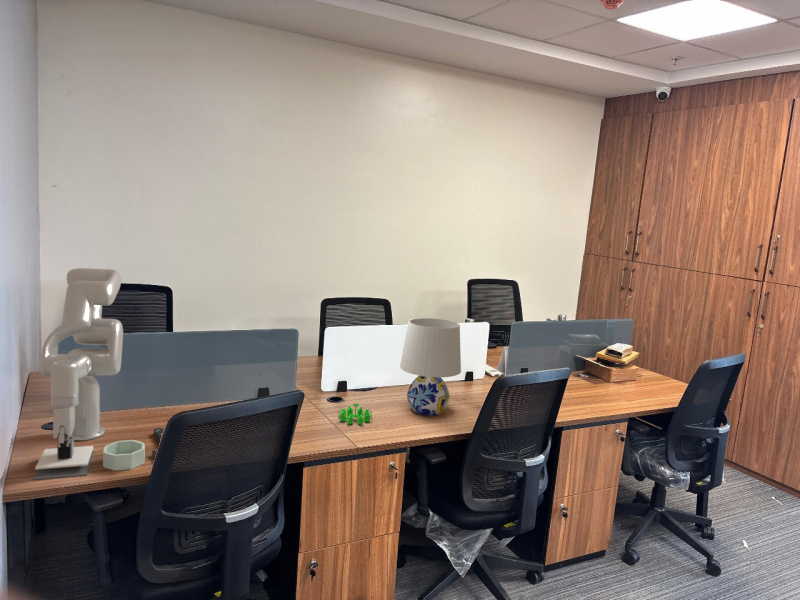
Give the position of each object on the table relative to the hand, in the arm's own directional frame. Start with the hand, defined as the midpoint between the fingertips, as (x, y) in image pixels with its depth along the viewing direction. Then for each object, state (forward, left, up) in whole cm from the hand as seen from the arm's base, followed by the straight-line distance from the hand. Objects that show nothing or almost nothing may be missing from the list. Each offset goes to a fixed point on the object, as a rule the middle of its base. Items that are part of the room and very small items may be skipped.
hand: (65, 454), depth 186 cm
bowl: (+1, +17, -4) cm, 17 cm away
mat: (0, 0, -4) cm, 4 cm away
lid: (0, 0, -1) cm, 1 cm away
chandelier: (-24, +103, -4) cm, 105 cm away
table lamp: (-30, +138, -4) cm, 141 cm away
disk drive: (-16, +32, -4) cm, 36 cm away
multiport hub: (+2, +29, -4) cm, 29 cm away
